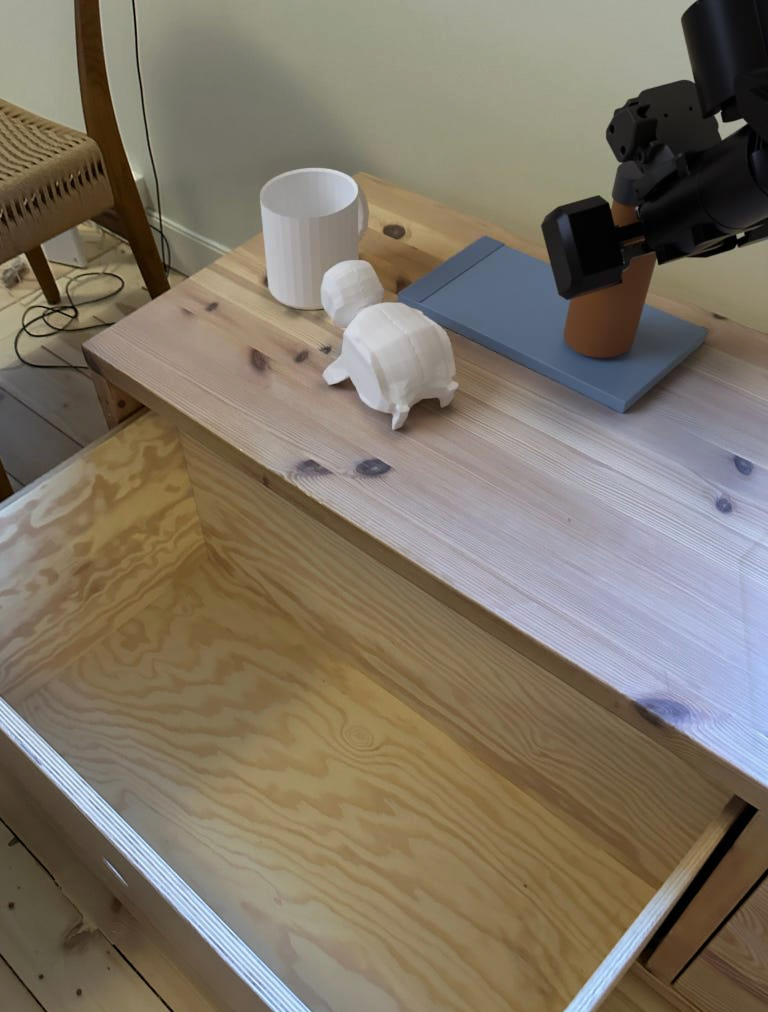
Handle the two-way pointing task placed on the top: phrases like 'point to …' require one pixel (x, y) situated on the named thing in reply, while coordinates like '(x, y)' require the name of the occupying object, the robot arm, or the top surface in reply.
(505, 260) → the blue slab
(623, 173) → the brown bottle
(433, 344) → the white turtle figurine
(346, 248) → the mug
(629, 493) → the top surface
